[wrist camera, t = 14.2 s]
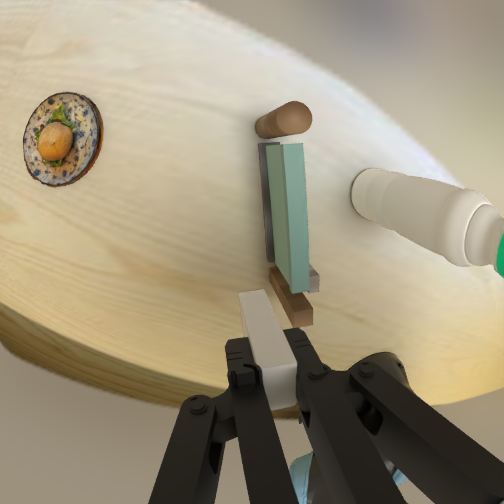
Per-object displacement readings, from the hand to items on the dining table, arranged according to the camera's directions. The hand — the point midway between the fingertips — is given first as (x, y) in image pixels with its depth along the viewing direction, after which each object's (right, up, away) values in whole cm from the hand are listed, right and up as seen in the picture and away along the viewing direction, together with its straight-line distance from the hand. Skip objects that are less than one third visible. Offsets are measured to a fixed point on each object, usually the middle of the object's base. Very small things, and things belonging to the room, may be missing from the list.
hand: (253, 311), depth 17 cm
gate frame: (+3, +10, +18) cm, 21 cm away
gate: (+3, +9, +17) cm, 19 cm away
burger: (-23, +18, +11) cm, 31 cm away
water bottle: (+16, +12, +20) cm, 28 cm away
